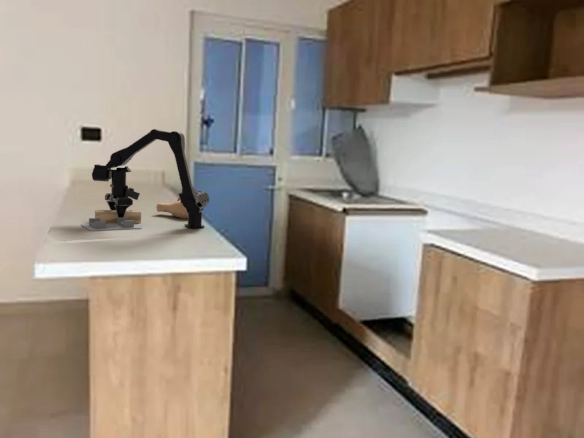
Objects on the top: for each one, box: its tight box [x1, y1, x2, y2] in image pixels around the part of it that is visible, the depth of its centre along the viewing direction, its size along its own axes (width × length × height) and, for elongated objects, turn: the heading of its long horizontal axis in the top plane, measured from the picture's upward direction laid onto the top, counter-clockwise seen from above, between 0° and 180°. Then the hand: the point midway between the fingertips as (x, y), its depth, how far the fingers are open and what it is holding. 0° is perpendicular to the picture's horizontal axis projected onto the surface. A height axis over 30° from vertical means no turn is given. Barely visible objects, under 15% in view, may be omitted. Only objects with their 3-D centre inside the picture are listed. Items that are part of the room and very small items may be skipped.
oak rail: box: [94, 209, 142, 224], centre depth 228 cm, size 4×18×5 cm, turn 114°
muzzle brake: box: [176, 190, 210, 208], centre depth 268 cm, size 10×28×10 cm, turn 174°
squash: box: [155, 201, 188, 219], centre depth 250 cm, size 11×20×9 cm, turn 76°
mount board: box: [80, 217, 143, 232], centre depth 216 cm, size 13×20×3 cm, turn 125°
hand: (118, 219), depth 229 cm, fingers open, 7 cm apart
